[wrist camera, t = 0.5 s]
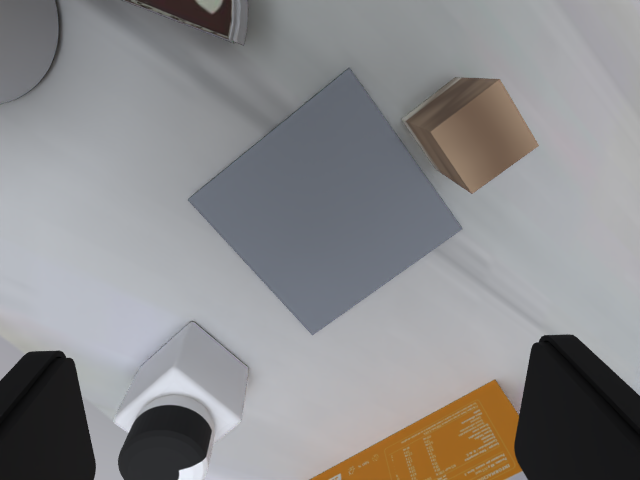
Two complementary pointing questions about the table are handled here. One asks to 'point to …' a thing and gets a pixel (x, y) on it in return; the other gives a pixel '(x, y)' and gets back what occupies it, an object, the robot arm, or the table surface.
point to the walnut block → (471, 131)
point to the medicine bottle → (180, 408)
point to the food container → (204, 15)
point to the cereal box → (445, 445)
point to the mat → (327, 205)
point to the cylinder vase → (25, 44)
